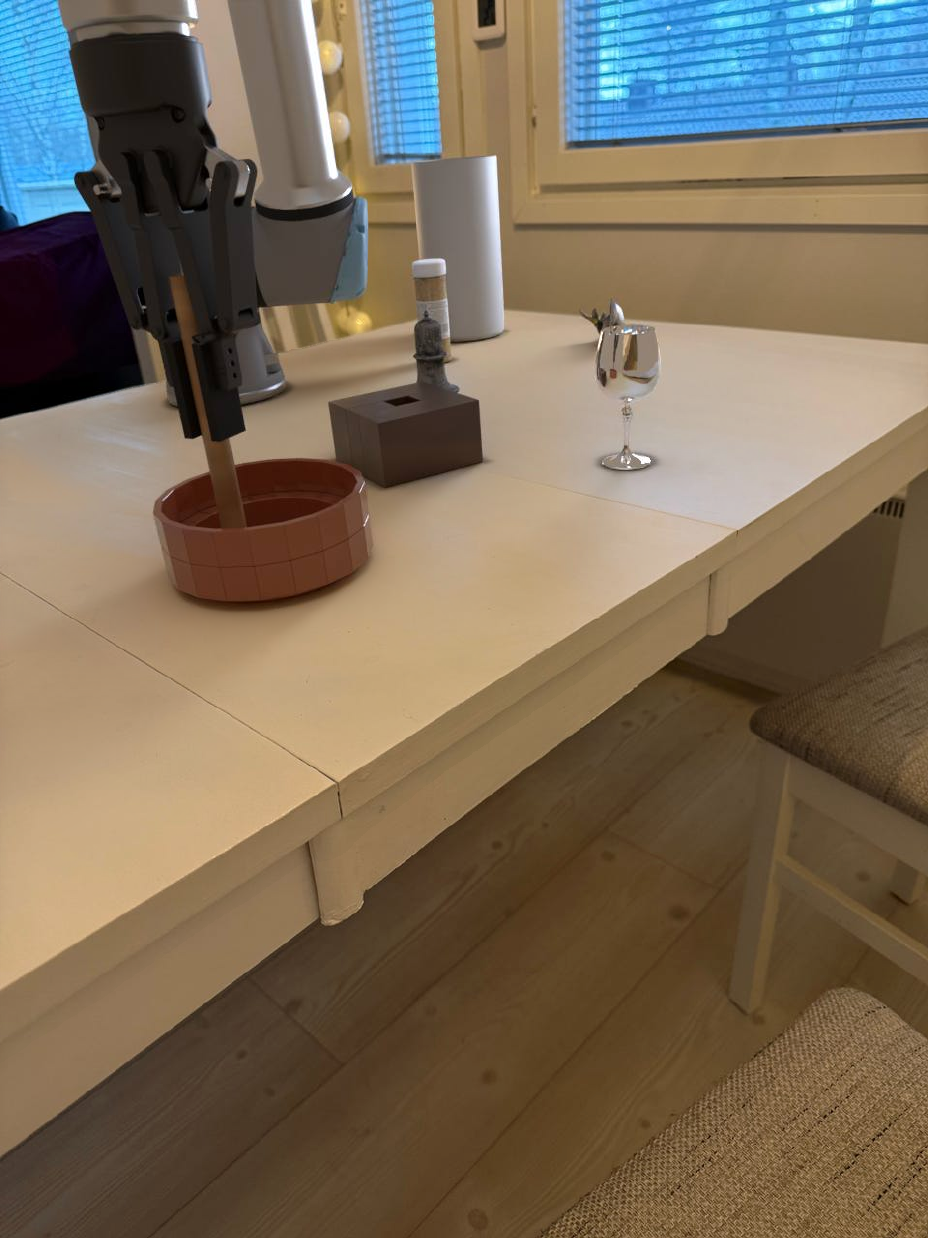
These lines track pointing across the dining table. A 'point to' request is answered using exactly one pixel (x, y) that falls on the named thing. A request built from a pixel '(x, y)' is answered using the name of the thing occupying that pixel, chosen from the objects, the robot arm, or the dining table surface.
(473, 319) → the cylinder vase
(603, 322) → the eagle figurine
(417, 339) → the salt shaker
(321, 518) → the bowl
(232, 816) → the dining table surface
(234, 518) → the stirring stick
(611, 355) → the wineglass
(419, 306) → the sprinkles bottle
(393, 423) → the stick stand
